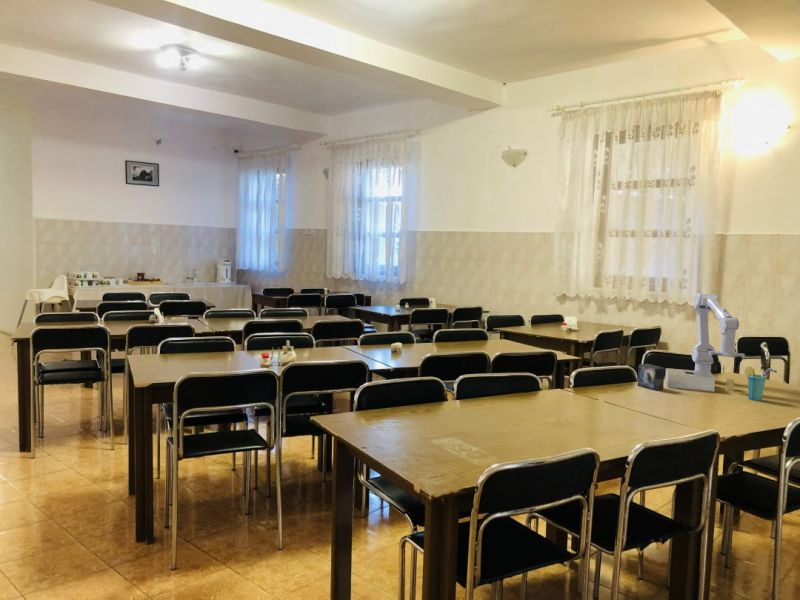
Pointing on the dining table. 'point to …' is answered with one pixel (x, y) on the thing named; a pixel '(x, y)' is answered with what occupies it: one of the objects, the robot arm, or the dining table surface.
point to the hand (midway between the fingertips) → (725, 371)
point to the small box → (651, 377)
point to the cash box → (690, 380)
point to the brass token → (730, 384)
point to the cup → (756, 383)
